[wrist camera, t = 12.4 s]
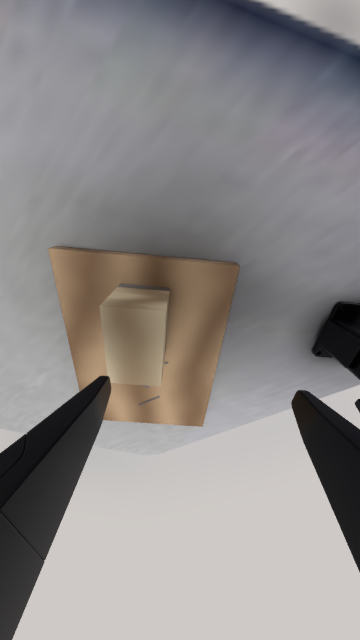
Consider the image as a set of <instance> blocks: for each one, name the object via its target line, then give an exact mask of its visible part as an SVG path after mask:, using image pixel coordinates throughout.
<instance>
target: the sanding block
mask: <svg viewBox="0 0 360 640" xmlns="http://www.w3.org/2000/svg"><path fill="white" fill-rule="evenodd" d="M169 296H170V288H168V287H157V286H146V285H135V284H124V283H121V284H120V285H119V286H118V287H117V288H116V289H115V290H114V291H113V292H112V293H111V294H110V295H109V296H108V297H107V298H106V300H105V301H104V302H103V303H102V304H101V305H100V306H99V307H100V315H101V324H102V333H103V341H104V350H105V358H106V367H107V375H108V376H109V377H110V382H111V383H119V384H132V385H146V386H159V387H161V384H162V376H163V368H164V360H165V352H166V339H167V325H168V310H169Z"/></svg>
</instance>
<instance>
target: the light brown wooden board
mask: <svg viewBox="0 0 360 640" xmlns="http://www.w3.org/2000/svg"><path fill="white" fill-rule="evenodd" d="M48 250H49V255H50V259H51V264H52V268H53V273H54V277H55V282H56V286H57V291H58V295H59V300H60V304H61V309H62V313H63V318H64V322H65V327H66V331H67V336H68V340H69V345H70V349H71V354H72V358H73V363H74V367H75V372H76V376H77V381H78V385H79V390H80V391H81V390H82V389H84V388H85V387H86V386H88V385H89V384H90V383H91V382H93V381H94V380H95V379H97V378H98V377H99V376H108V375H107V367H106V358H105V350H104V341H103V333H102V324H101V315H100V307H99V306H100V305H101V304H102V303H103V302H104V301H105V300H106V298H107V297H108V296H109V295H110V294H111V293H112V292H113V291H114V290H115V289H116V288H117V287H118V286H119V285H120V284H121V283H124V284H135V285H146V286H157V287H168V288H170V296H169V310H168V325H167V339H166V352H165V360H164V368H163V376H162V384H161V387H159V386H146V385H132V384H119V383H111V394H110V398H109V401H108V404H107V408H106V411H105V414H104V418H103V420H111V421H126V422H141V423H156V424H171V425H187V426H202V427H203V423H204V419H205V415H206V410H207V406H208V402H209V397H210V393H211V389H212V384H213V380H214V376H215V372H216V367H217V363H218V359H219V354H220V350H221V346H222V341H223V337H224V333H225V328H226V324H227V320H228V315H229V311H230V307H231V302H232V298H233V294H234V289H235V285H236V281H237V277H238V272H239V268H240V266H239V265H238V264H237V263H230V262H219V261H208V260H198V259H187V258H176V257H166V256H155V255H144V254H133V253H123V252H112V251H101V250H91V249H80V248H69V247H58V246H56V247H51V248H48Z"/></svg>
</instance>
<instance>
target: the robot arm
mask: <svg viewBox="0 0 360 640" xmlns="http://www.w3.org/2000/svg"><path fill="white" fill-rule="evenodd" d="M342 306H343V307H342ZM341 307H342V308H341ZM340 308H341V309H340ZM318 351H319V352H318ZM312 353H313V354H314V355H315V356H318V357H330V358H335V359H336V360H337V361H338V362H339V363H340V364H341V365H342V366H344V367H345V368H347V369H348V370H350V371H351V372H352V373H353V374H354V375H355V376H356V377H357V378H358V379H359V380H360V303H349V302H339V303H338V304H336V306H335V307H334V309H333V311H332V313H331V315H330V317H329V319H328V321H327V323H326V325H325V327H324V329H323V331H322V333H321V335H320V337H319V339H318V341H317V343H316V345H315V347H314V349H313V351H312ZM110 394H111V382H110V377H109V376H99V377H98V378H97V379H95V380H94V381H93V382H91V383H90V384H89V385H88V386H86V387H85V388H84V389H82V390H81V391H80V392H79V393H77V394H76V395H75V396H74V397H72V398H71V399H70V400H68V401H67V402H66V403H65V404H63V405H62V406H61V407H59V408H58V409H57V410H56V411H54V412H53V413H52V414H50V415H49V416H48V417H47V418H45V419H44V420H43V421H41V422H40V423H39V424H38V425H36V426H35V427H34V428H33V429H31V430H30V431H29V432H27V434H25V435H23V436H22V437H21V438H20V439H18V440H17V441H16V442H14V443H13V444H12V445H10V446H9V447H8V448H7V449H5V450H4V451H3V452H1V453H0V640H12V638H13V636H14V634H15V631H16V629H17V626H18V624H19V622H20V619H21V617H22V614H23V612H24V610H25V607H26V605H27V602H28V600H29V598H30V595H31V593H32V590H33V588H34V586H35V583H36V581H37V578H38V576H39V574H40V571H41V569H42V566H43V564H44V560H45V559H46V557H47V554H48V552H49V549H50V547H51V545H52V542H53V540H54V537H55V535H56V533H57V530H58V528H59V525H60V523H61V521H62V518H63V516H64V513H65V511H66V508H67V506H68V504H69V501H70V499H71V497H72V494H73V491H74V489H75V487H76V485H77V482H78V480H79V477H80V475H81V472H82V470H83V468H84V465H85V463H86V461H87V458H88V456H89V453H90V451H91V449H92V446H93V444H94V441H95V439H96V437H97V434H98V432H99V429H100V427H101V424H102V421H103V418H104V414H105V411H106V408H107V404H108V401H109V398H110ZM355 405H356V407H357V408H358V410H359V412H360V399H358V400H357V401H356V402H355ZM292 409H293V412H294V415H295V418H296V421H297V424H298V427H299V430H300V433H301V436H302V439H303V442H304V444H305V446H306V449H307V451H308V454H309V456H310V458H311V460H312V463H313V465H314V467H315V469H316V472H317V474H318V477H319V479H320V481H321V484H322V486H323V488H324V490H325V493H326V495H327V497H328V500H329V502H330V504H331V507H332V509H333V511H334V514H335V516H336V518H337V521H338V523H339V525H340V528H341V530H342V532H343V535H344V537H345V539H346V542H347V544H348V546H349V549H350V551H351V553H352V555H353V558H354V560H355V562H356V564H357V567H358V569H359V572H360V429H358V428H357V427H356V426H354V425H353V424H352V423H350V422H349V421H348V420H346V419H345V418H343V417H342V416H341V415H339V414H338V413H337V412H335V411H334V410H333V409H331V408H330V407H328V406H327V405H326V404H325V403H323V402H322V401H321V400H319V399H318V398H317V397H315V396H314V395H312V394H311V393H310V392H308V391H305V390H298V391H297V392H296V394H295V396H294V398H293V400H292Z"/></svg>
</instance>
